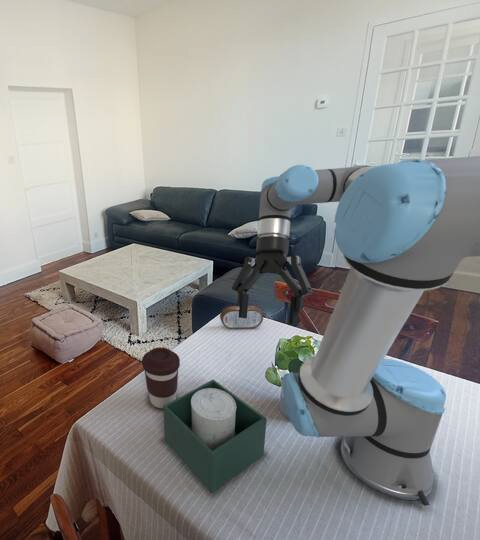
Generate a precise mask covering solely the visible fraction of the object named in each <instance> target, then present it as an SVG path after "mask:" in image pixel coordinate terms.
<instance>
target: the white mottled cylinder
mask: <svg viewBox="0 0 480 540" xmlns="http://www.w3.org/2000/svg"><path fill="white" fill-rule="evenodd" d="M191 406H192V432H193V433H195V434H196V435H197V436H198V437H199V438H200V439H201V440H202V441H203V442H204V443H205V444H206V445H207V446H208V447H209V448H210V449H211V450H212V451H213V450H215V449H216V448H218V447H219V446H221V445H223V444H224V443H226V442H227V441H229V440H230V439H232V438H233V437H234V436H235V415H236V403H235V401H234V399H233V398H232V397H231V396H230V395H229V394H228V393H226V392H224V391H222V390H219V389H214V388H206V389H202V390H199V391H197V392H196V393H195V394H194V395H193V396H192V399H191Z"/></svg>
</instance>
